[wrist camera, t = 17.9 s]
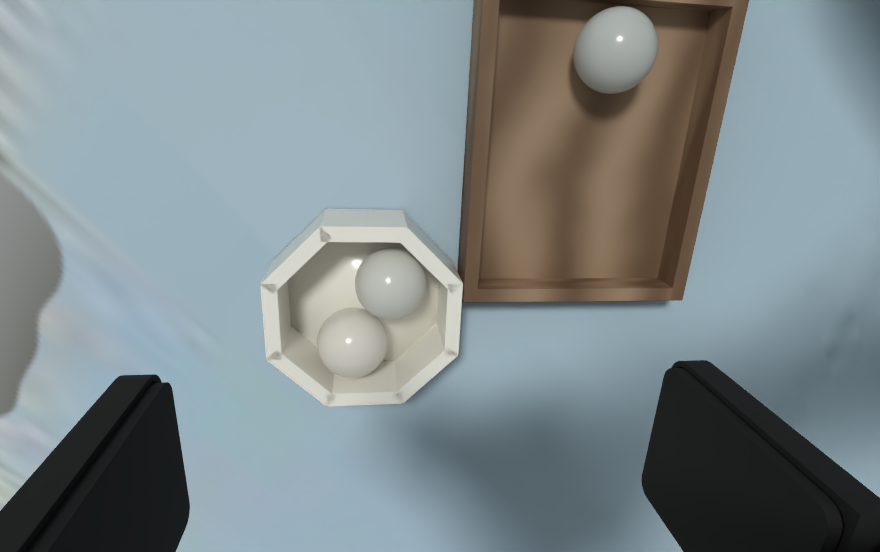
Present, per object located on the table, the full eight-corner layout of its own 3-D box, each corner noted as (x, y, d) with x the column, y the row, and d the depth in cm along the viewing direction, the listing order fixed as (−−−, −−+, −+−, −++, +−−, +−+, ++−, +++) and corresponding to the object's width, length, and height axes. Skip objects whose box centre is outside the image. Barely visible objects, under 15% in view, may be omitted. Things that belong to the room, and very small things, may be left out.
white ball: (391, 235, 38) (443, 250, 35) (390, 297, 40) (440, 317, 37) (338, 247, 34) (391, 265, 31) (340, 316, 36) (390, 339, 33)
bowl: (454, 210, 37) (466, 228, 33) (445, 366, 42) (455, 401, 37) (270, 207, 36) (255, 225, 31) (281, 371, 40) (270, 408, 35)
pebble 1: (387, 321, 34) (356, 391, 33) (406, 326, 39) (379, 387, 38) (323, 292, 35) (292, 360, 35) (349, 301, 40) (322, 360, 39)
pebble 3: (639, 14, 34) (683, 3, 29) (626, 95, 35) (665, 96, 31) (567, 9, 33) (599, -4, 28) (557, 91, 35) (586, 92, 30)
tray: (720, -2, 35) (751, -11, 32) (661, 286, 42) (682, 300, 39) (475, -22, 32) (485, -33, 30) (456, 287, 40) (463, 302, 37)
